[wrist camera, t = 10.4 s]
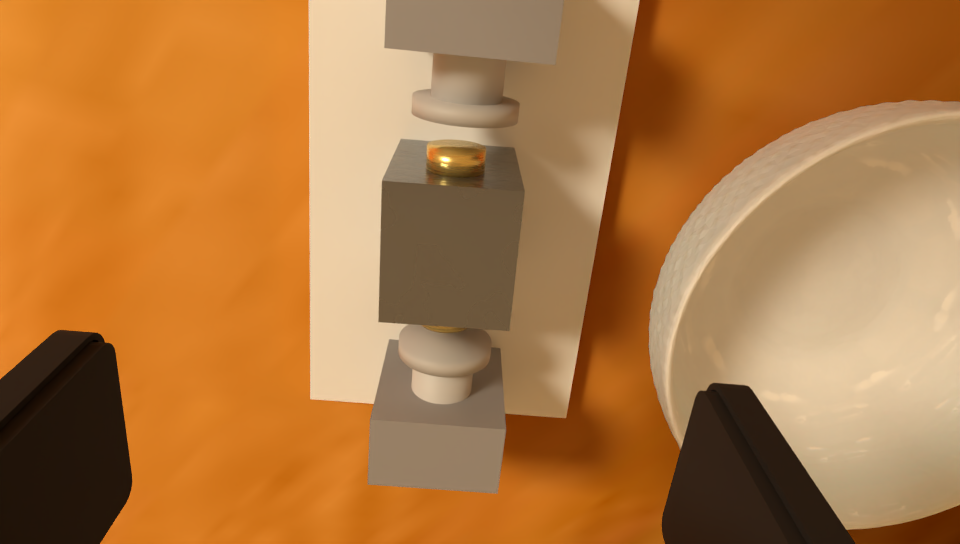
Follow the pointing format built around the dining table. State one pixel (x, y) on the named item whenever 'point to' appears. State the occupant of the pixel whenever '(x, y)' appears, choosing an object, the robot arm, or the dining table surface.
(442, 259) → the joint block
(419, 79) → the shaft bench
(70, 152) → the dining table surface
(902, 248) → the cereal bowl
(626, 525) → the dining table surface
